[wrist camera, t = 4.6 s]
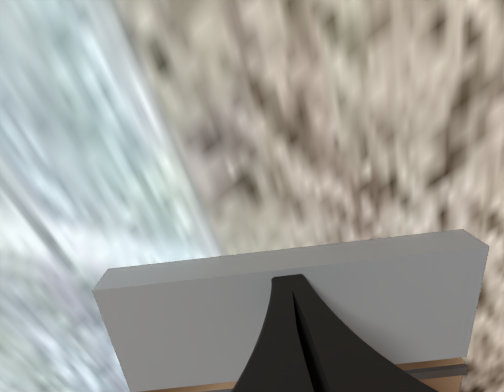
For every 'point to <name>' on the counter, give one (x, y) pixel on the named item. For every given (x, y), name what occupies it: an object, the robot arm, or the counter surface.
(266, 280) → the grey plank
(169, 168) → the counter surface
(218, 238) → the counter surface
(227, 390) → the walnut board
